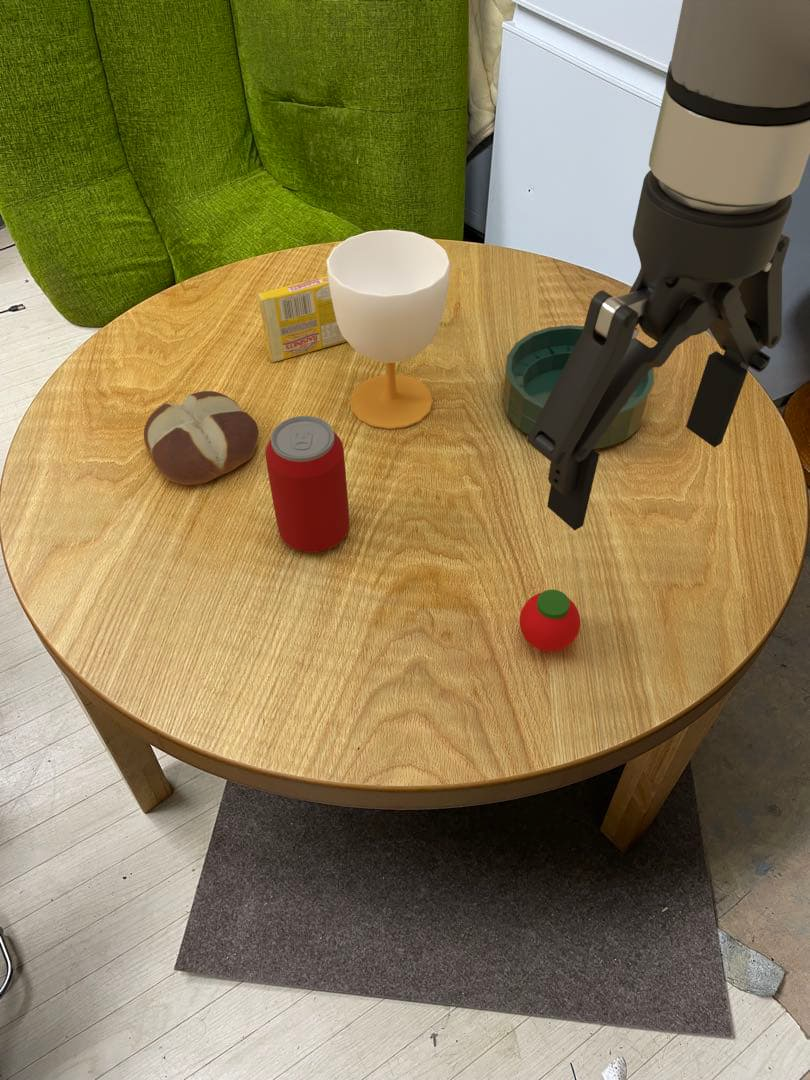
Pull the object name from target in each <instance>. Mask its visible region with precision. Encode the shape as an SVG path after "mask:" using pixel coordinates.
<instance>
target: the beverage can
mask: <svg viewBox="0 0 810 1080" xmlns="http://www.w3.org/2000/svg"><path fill="white" fill-rule="evenodd" d="M264 453H265V454H264V455H265V456H264V457H265V463H266V469H267V475H268V481H269V487H270V492H271V498H272V504H273V510H274V514H275V518H276V525H277V530H278V534H279V536H280V539H281V540H282V541H283V543H285V544H286V545H287V546H288V547H290V548H291V549H294V550H296V551H299V552H303V553H319V552H324V551H327V550H330V549H333V547H335V546H337V545H338V544H340V543H341V542H342V541H343V540H344V539H345V537H346V536H347V534H348V532H349V529H350V512H349V509H350V508H349V497H348V485H347V472H346V471H347V470H346V461H345V450H344V445H343V442H342V439H341V438H340V437H339V435H338V434H337V433H336V431H334V429H333V427H332V426H331V424H329V423H328V422H327V421H326V420H324V419H322V418H320V417H317V416H312V415H299V416H293V417H289V418H287V419H285V420H283V421H281V422H280V423H279V424H278V425H276V426H275V428H274V429H273V431H272V433H271V436H270V439H269V441H268V443H267V445H266V447H265V452H264Z"/></svg>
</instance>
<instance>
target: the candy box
mask: <svg viewBox="0 0 810 1080" xmlns="http://www.w3.org/2000/svg"><path fill="white" fill-rule="evenodd" d="M257 298H258V304H259V310H260V316H261V321H262V327H263V332H264V338H265V344H266V351H267V356H268V357H269V360H270V361H271V362H272V363H276V362H279V361H283V360H287V359H291V358H294V357H298V356H301V355H304V354H307V353H311V352H315V351H318V350H322V349H325V348H330V347H332V346H333V347H334V346H336V345H339V344H340V345H341V344H344V343H348V342H347V340H346V339H345V338H344V337H343V336H342V334H341V331H340V329H339V327H338V324H337V321H336V317H335V312H334V308H333V303H332V298H331V293H330V287H329V280H328V275H324V276H320V277H317V278H313V279H308V280H305V281H301V282H297V283H294V284H290V285H287V286H282V287H278V288H275V289H274V288H273V289H271V290H266V291H263V292H259V293H257Z"/></svg>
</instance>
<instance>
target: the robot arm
mask: <svg viewBox="0 0 810 1080" xmlns="http://www.w3.org/2000/svg"><path fill="white" fill-rule="evenodd" d="M651 143H652V144H651V148H650V151H649V152H650V153H649V159H648V167H649V169H650V170H648V172H647V173H646V174H645V176H644V178H643V181H642V186H641V190H640V195H639V200H638V204H637V208H636V209H637V210H636V214H635V219H634V223H633V227H632V239H633V244H634V246H635V249H636V251H637V254H638V258H639V261H640V262H639V263H640V269H639V272H638V274H637V277H636V279H635V281H634V282H633V284H632V286H631V288H630V290H629V292H628V293H625V294H622V295H619V296H616V297H615V296H613V295H612V294H610V293H608V292H607V291H605V290H599V291H597V292H596V293H595V294H594V295H593V297H592V298H591V300H590V303H589V306H588V310H587V314H586V316H585V321H584V325H583V326H584V328H583V331H582V333H581V335H580V337H579V339H578V341H577V343H576V345H575V347H574V349H573V351H572V353H571V355H570V357H569V358H568V360H567V362H566V364H565V366H564V368H563V370H562V372H561V374H560V376H559V378H558V380H557V382H556V384H555V386H554V388H553V390H552V392H551V394H550V396H549V398H548V400H547V401H546V403H545V405H544V407H543V409H542V411H541V413H540V415H539V417H538V419H537V421H536V423H535V425H534V427H533V429H532V431H531V433H530V435H528V437H527V442H528V444H529V445H530V446H532V447H533V448H534V449H535V450H536V451H538V452H539V453H540V454H541V455H543V456H544V457H545V458H546V459H547V460H548V461H549V462H550V465H549V470H548V476H547V480H548V483H549V484H550V487H549V488H550V489H549V494H548V500H547V506H546V507H547V508H548V509H549V510H550V511H552V512H553V513H554V514H555V515H556V516H557V517H559V518H560V519H561V520H562V521H563V523H565V524H566V525H568V526H569V527H570V528H571V529H572V530H573V531H577V530H578V529H580V528H582V527H583V526H584V524H585V520H586V514H587V511H588V507H589V506H588V505H589V502H590V497H591V493H592V489H593V483H594V480H595V477H596V476H595V475H596V471H597V467H598V462H599V458H600V453H599V452H598V451H596V449H593V448H594V446H595V445H596V444H597V442H598V441H599V439H600V438H601V437H602V435H603V434H604V433H605V431H606V430H607V428H608V427H609V426H610V424H611V423H612V422H613V420H614V419H615V417H616V416H617V415H618V413H619V412H620V410H621V409H622V408H623V406H624V405H625V404H626V402H627V401H628V399H629V398H630V397H631V395H632V394H633V393H634V391H635V390H636V388H637V387H638V386H639V384H640V383H641V381H642V380H643V379H644V377H645V376H646V375H647V373H648V372H649V370H650V369H652V368H653V369H655V368H660V367H663V365H664V364H665V363H666V362H667V360H668V359H669V358H670V357H671V355H672V354H673V352H674V351H675V350H676V348H677V347H678V346H679V345H681V344H682V343H684V342H685V341H686V340H688V339H689V338H690V337H693V336H697V335H700V334H702V333H704V332H706V331H708V330H709V331H710V333H711V335H712V336H713V338H714V340H715V341H716V343H717V345H718V347H719V348H720V349H721V350H722V351H724V353H723V354H722V353H721V352H719V351H717V350H715V351H714V352H711V353H710V354H709V355H708V357H707V360H706V364H705V367H704V369H703V371H702V372H703V373H702V375H701V379H700V382H699V385H698V389H697V391H696V395H695V397H694V401H693V403H692V407H691V410H690V412H689V417H688V418H687V421H686V425H685V428H686V429H688V430H689V431H690V432H692V434H695V435H696V436H698V437H699V438H700V439H701V440H703V441H705V442H706V443H707V444H708V445H710V446H711V447H712V448H716V447H717V446H720V445H721V444H722V443H723V441H724V438H725V435H726V432H727V429H728V426H729V424H730V421H731V420H732V419H731V418H732V416H733V413H734V410H735V408H736V405H737V402H738V399H739V396H740V394H741V392H742V389H743V386H744V383H745V380H746V378H747V375H748V373H749V371H748V370H749V368H750V369H752V370H753V371H755V372H757V373H761V372H763V371H764V370H765V369H766V368H767V367H768V365H769V364H770V362H771V357H770V356H769V355H768V354H766V353H764V352H763V351H762V349H763V348H764V347H766V348H768V349H769V350H771V349H774V348H775V347H776V346H777V345H778V344H779V343H780V341H781V339H782V336H783V332H782V331H783V266H784V262H785V258H786V255H787V252H788V248H789V246H790V241H791V240H790V239H791V238H790V237H789V236H787V235H785V234H783V230H784V227H785V224H786V221H787V218H788V215H789V213H790V210H791V208H792V204H793V197H792V194H793V193H794V192H795V191H796V190H797V189H798V188H799V187H800V183H801V181H802V178H803V174H804V171H805V169H806V166H807V164H808V160H809V157H810V0H682V3H681V7H680V12H679V19H678V24H677V28H676V32H675V39H674V43H673V48H672V54H671V59H670V61H669V64H668V68H667V72H666V78H665V86H664V91H663V94H662V99H661V104H660V108H659V113H658V118H657V121H656V126H655V131H654V136H653V139H652V142H651ZM638 324H639V327H640V330H641V331H642V332H643V333H644V334H645V335H646V336H647V337H649V338H650V339H652V340H653V341H655V342H656V344H655V345H654V346H653V347H650V346H648V345H646V344H645V343H643V342H642V341H640V340H639V339H637V337H638V335H639V329H638V328H637V326H638Z"/></svg>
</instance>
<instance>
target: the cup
mask: <svg viewBox="0 0 810 1080" xmlns="http://www.w3.org/2000/svg"><path fill="white" fill-rule="evenodd" d="M325 263H326V271H327V276H328V280H329V287H330V293H331V298H332V303H333V308H334V312H335V317H336V321H337V324H338V327H339V329H340V331H341V334H342V336H343V337H344V338H345V339H346V340H347V342H346V343H348V344H349V345H350V346H351V347H352V348H353V350H354V351H355V352H356V353H357V354H358V355H359V356H361V357H364V358H366V359H368V360H371V361H373V362H376V363H383V364H385V365H384V366H385V374H382V375H376V376H373V377H371V378H369V379H366V380H363V381H362V382H361V383H360V384H359V385H357V386H356V387H355V388H354V389H353V391H352V394H351V396H350V397H349V403H350V410H351V412H352V413H353V414H354V415H355V417H356V418H357V419H358V420H359V421H361V422H362V423H365V424H366V425H368V426H371V427H373V428H379V429H385V430H395V429H404V428H408V427H410V426H412V425H415V424H418V423H420V422H421V421H422V420H423V419H424V418H426V416H428V415H429V414H430V412H431V409H432V407H433V403H434V401H433V396H432V392H431V390H430V389H429V388H428V387H427V386H426V385H425V384H424V383H423V382H422V381H420V380H418V379H415V378H413V377H410V376H409V375H401V374H396V363H402V362H405V361H408V360H411V359H414V358H415V357H417V356H419V355H420V354H421V353H422V352H423V351H425V349H427V348H428V347H429V346H430V345H431V343H432V342H433V341H434V339H435V338H436V336H437V333H438V331H439V327H440V325H441V322H442V319H443V316H444V313H445V311H446V310H445V309H446V304H447V298H448V293H449V285H450V273H451V262H450V259H449V256H448V253H447V251H446V249H444V248H443V247H442V246H441V245H440V244H439V243H438V242H436V241H435V240H433V238H430V237H427V236H425V235H422V234H419V233H417V232H414V231H405V230H398V229H382V230H381V229H380V230H372V231H366V232H363V233H360V234H356V235H353V236H350V237H347V238H346V239H345V240H343V241H342V242H340V243H339V244H338V245H336V246H334V247H333V249H332V250H331V252H330V254H329V256H328V257H327V260H326V261H325Z"/></svg>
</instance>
